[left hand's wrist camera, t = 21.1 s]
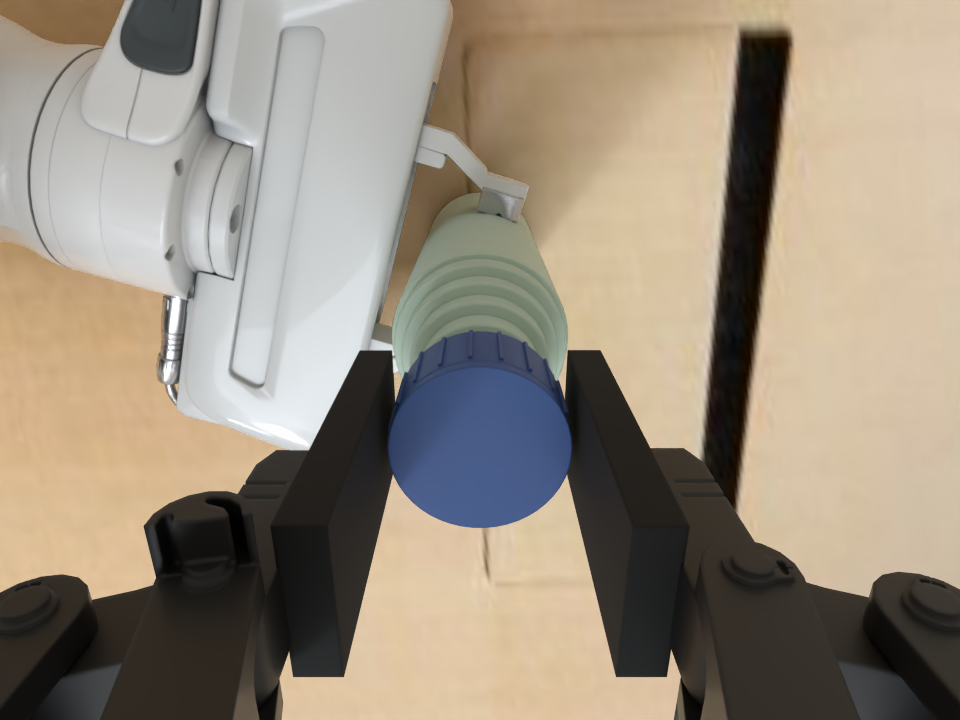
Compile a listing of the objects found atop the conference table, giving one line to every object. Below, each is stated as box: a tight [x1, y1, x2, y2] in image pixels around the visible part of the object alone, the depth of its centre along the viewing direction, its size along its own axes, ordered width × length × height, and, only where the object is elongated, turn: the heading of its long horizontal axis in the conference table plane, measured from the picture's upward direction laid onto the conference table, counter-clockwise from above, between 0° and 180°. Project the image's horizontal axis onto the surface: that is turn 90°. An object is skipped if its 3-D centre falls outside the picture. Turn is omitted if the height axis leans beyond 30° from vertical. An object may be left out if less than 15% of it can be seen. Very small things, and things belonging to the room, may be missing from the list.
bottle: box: [392, 192, 568, 381], centre depth 23 cm, size 5×5×21 cm
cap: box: [388, 330, 573, 528], centre depth 14 cm, size 4×4×2 cm
